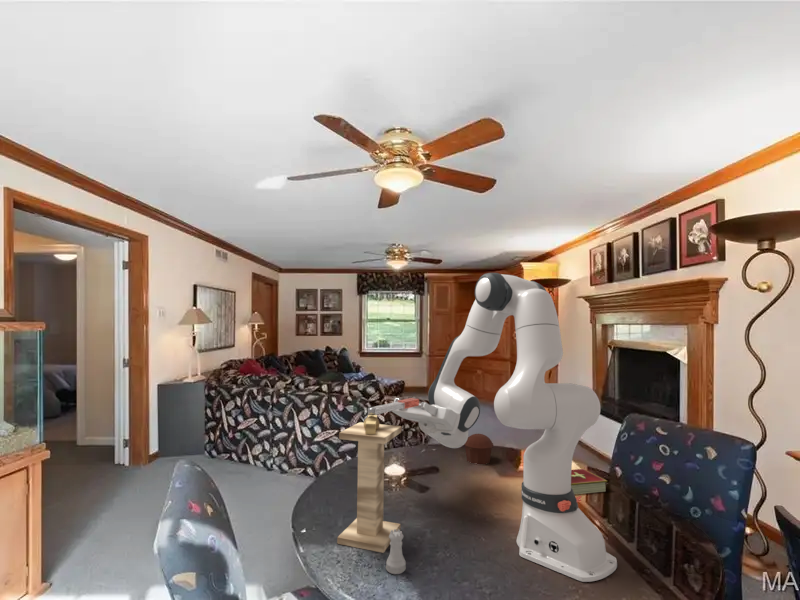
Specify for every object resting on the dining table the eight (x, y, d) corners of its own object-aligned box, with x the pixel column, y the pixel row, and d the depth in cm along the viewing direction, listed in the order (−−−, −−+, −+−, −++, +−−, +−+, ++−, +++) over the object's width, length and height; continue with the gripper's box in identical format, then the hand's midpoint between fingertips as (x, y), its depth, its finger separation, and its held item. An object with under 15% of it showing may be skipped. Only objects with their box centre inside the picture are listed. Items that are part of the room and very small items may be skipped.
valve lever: (373, 416, 110) (373, 409, 110) (364, 414, 112) (365, 407, 112) (418, 405, 125) (418, 399, 125) (411, 404, 126) (411, 397, 126)
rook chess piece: (405, 563, 98) (405, 526, 99) (406, 575, 94) (406, 536, 94) (385, 563, 98) (385, 527, 98) (385, 575, 94) (386, 536, 94)
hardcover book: (528, 484, 148) (528, 472, 148) (583, 479, 153) (583, 467, 153) (549, 499, 136) (549, 485, 136) (607, 493, 141) (607, 479, 141)
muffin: (486, 467, 163) (486, 440, 163) (459, 462, 168) (459, 436, 169) (497, 459, 173) (497, 433, 173) (470, 454, 178) (471, 429, 179)
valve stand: (383, 552, 103) (385, 423, 104) (337, 543, 107) (339, 419, 108) (400, 529, 114) (401, 413, 115) (358, 522, 118) (359, 409, 119)
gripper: (409, 406, 140) (385, 388, 131) (465, 415, 127) (442, 396, 118) (403, 425, 138) (377, 408, 129) (459, 436, 125) (435, 418, 116)
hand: (409, 402), depth 123 cm, fingers open, 8 cm apart
